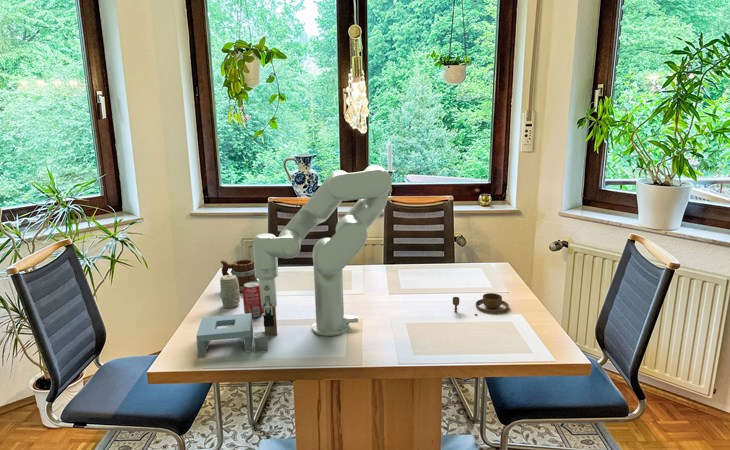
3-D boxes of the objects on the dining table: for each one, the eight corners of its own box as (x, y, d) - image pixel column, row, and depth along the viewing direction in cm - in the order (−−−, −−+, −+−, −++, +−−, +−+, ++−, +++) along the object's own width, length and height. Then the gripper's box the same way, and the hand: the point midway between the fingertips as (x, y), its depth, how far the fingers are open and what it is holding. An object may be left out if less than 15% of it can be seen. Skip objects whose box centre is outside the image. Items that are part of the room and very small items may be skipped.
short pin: (268, 345, 163) (267, 331, 162) (268, 351, 159) (266, 336, 158) (255, 347, 162) (254, 332, 161) (254, 352, 159) (253, 338, 157)
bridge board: (253, 332, 173) (251, 313, 171) (251, 351, 159) (250, 330, 158) (204, 337, 170) (202, 317, 168) (198, 356, 157) (196, 335, 155)
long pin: (277, 330, 174) (275, 299, 172) (277, 335, 170) (275, 304, 168) (265, 331, 173) (262, 300, 171) (265, 336, 170) (262, 305, 167)
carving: (218, 308, 194) (215, 278, 192) (231, 301, 201) (229, 272, 198) (230, 310, 191) (228, 280, 189) (244, 303, 198) (241, 274, 195)
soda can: (255, 309, 192) (253, 279, 189) (268, 314, 188) (265, 283, 185) (240, 315, 187) (237, 284, 184) (252, 320, 182) (250, 288, 179)
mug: (260, 292, 209) (251, 258, 205) (226, 300, 208) (216, 265, 205) (263, 282, 220) (254, 250, 217) (230, 290, 220) (221, 257, 216)
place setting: (508, 319, 179) (509, 304, 178) (451, 315, 184) (451, 299, 183) (508, 301, 196) (509, 286, 194) (455, 297, 201) (456, 283, 200)
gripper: (278, 279, 159) (280, 330, 163) (277, 262, 176) (279, 309, 180) (253, 280, 158) (256, 332, 162) (255, 264, 174) (258, 311, 178)
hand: (268, 320), depth 171 cm, fingers open, 9 cm apart
